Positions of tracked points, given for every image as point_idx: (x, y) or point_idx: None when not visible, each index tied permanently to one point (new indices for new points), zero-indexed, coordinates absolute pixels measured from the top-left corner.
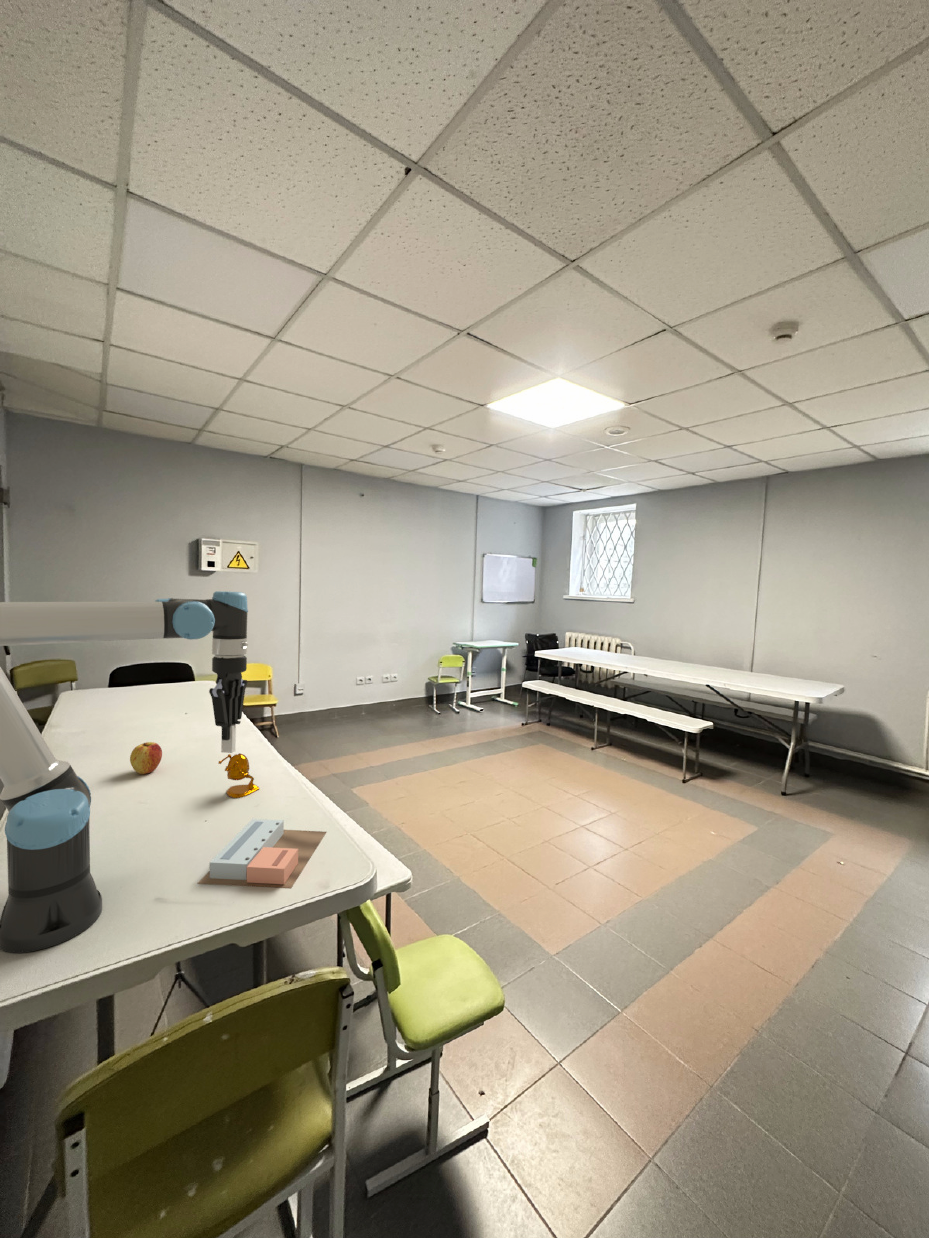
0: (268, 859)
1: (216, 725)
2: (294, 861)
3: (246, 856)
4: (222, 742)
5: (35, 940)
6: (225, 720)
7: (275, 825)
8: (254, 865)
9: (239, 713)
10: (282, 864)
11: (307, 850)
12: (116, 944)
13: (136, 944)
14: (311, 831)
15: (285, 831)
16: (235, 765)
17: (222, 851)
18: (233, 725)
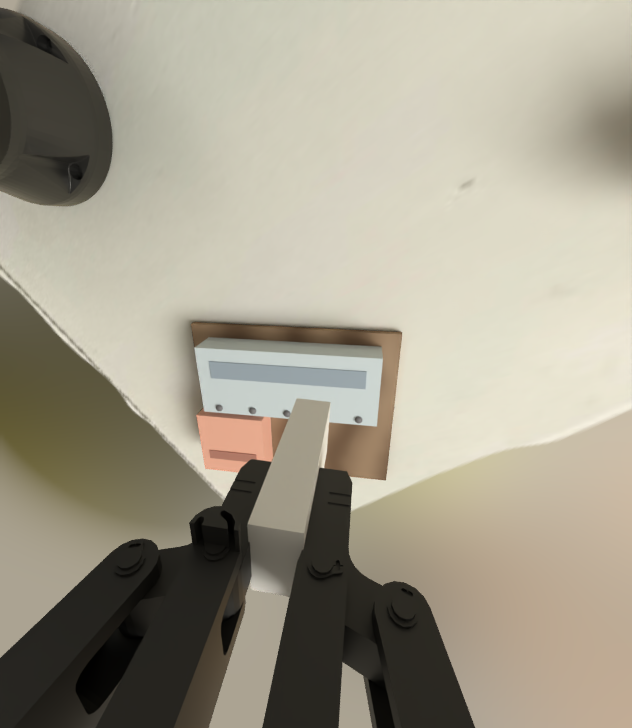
0: (224, 440)
1: (131, 544)
2: None
3: (226, 402)
4: (284, 436)
5: None
6: (106, 660)
7: (350, 417)
8: (203, 424)
9: (374, 723)
10: (216, 463)
11: None
12: (55, 278)
13: (65, 306)
14: (386, 455)
15: (385, 410)
16: None
17: (234, 353)
18: (283, 589)
